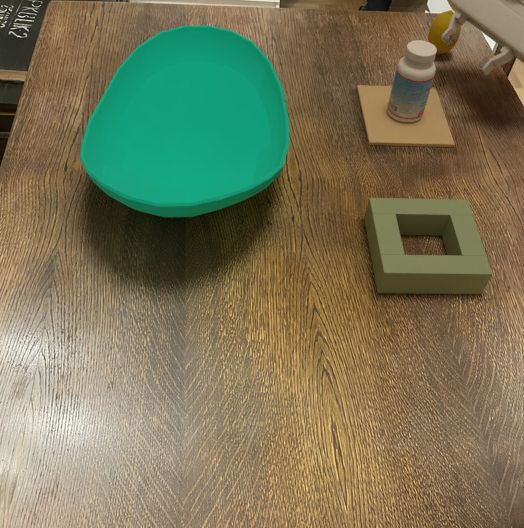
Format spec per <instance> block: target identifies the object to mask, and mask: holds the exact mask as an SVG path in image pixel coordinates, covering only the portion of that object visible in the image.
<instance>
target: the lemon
mask: <svg viewBox="0 0 524 528" xmlns="http://www.w3.org/2000/svg"><path fill="white" fill-rule="evenodd" d="M454 12H455V11H453V10H452V9H449V10H446V11H443V12H441V13H438V14H437V16H436V17H435V18H434V19H433V21H432V22H431V25H430V27H429V30H428V34H427V42H430V43H432V44H433V45H434V46H435V47H436V49H437V52H436V55H437V56H440V55H441V54H445V53H448V52H450V51H451V50H452V49H453V48H454V47H455V46H456V44H457V43H458V41H459V38H460V35H461V30H462V26H461V25H460V24H459V26H458V29H457V31H456V34H455V35H456V36H457V39H456V40H455V41H454V42H453V43H452V44H451V45H450V46H449V45H447V44H446V43H445V42H443V40H442V38H441V36H442V34H443V33H444V32H445V31H446V30H447V29H448V28H449V27H448V26H449V23H450V20H451V17H452V15H453V13H454Z"/></svg>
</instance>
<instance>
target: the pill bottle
mask: <svg viewBox="0 0 524 528" xmlns="http://www.w3.org/2000/svg"><path fill="white" fill-rule="evenodd" d="M436 52H437V49H436V47H435V46H434V45H433V44H432V43H430V42H428V40H427V41H426V40H422V39H415V40H411V41H409V42H408V43H407V44H406V47H405V51H404V56H403V57H401V58H400V60H398V62H397V65H396V69H395V73H394V77H393V82H392V85H391V86H392V89H391V93H390V97H389V102H388V106H387V112H388V114H389V115H390V116H391V117H392V118H393V119H395V120H397V121H400V122H415V121H418V120H419V119H420V118H421V117H422V116H423V113H424V110H425V106H426V103H427V99H428V96H429V93H430V89H431V88H432V86H433V82H434V79H435V77H436V71H437V67H436V64H435V62H434V61H435V59H436V55H437V54H436Z"/></svg>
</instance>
